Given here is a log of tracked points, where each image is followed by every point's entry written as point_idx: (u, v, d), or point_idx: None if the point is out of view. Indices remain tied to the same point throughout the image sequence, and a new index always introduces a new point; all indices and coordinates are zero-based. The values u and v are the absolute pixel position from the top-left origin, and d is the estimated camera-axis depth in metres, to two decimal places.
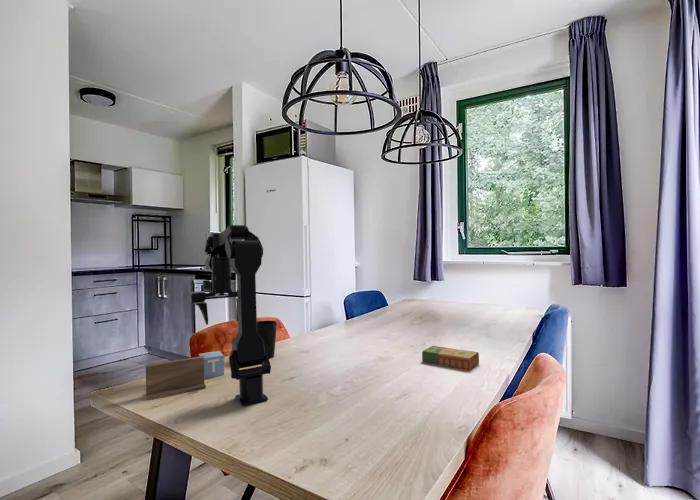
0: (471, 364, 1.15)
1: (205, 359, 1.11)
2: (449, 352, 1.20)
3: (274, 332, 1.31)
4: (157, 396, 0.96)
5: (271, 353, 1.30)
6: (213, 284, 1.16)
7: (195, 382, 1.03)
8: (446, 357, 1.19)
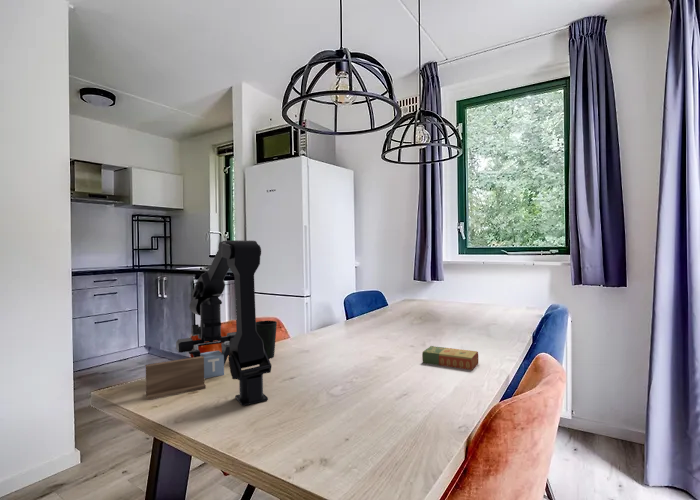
0: (472, 363, 1.15)
1: (205, 359, 1.11)
2: (450, 352, 1.20)
3: (274, 332, 1.31)
4: (157, 396, 0.96)
5: (271, 353, 1.30)
6: (201, 330, 1.12)
7: (195, 382, 1.03)
8: (447, 357, 1.19)
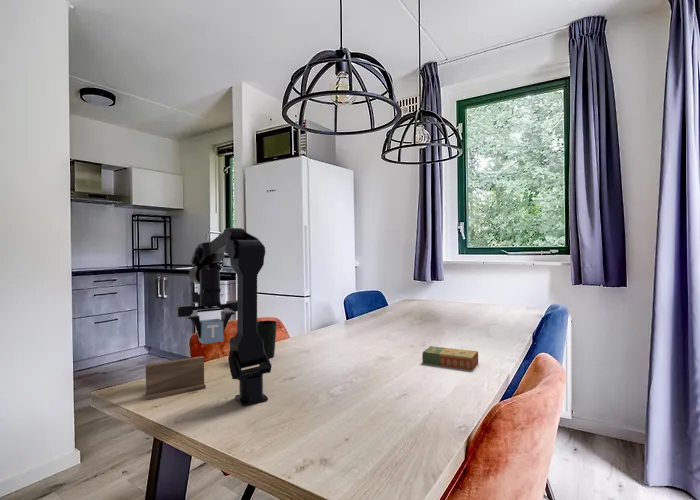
0: (473, 363, 1.15)
1: (204, 324, 1.11)
2: (450, 352, 1.20)
3: (274, 332, 1.31)
4: (157, 396, 0.96)
5: (271, 353, 1.30)
6: (201, 296, 1.12)
7: (195, 382, 1.03)
8: (447, 357, 1.18)
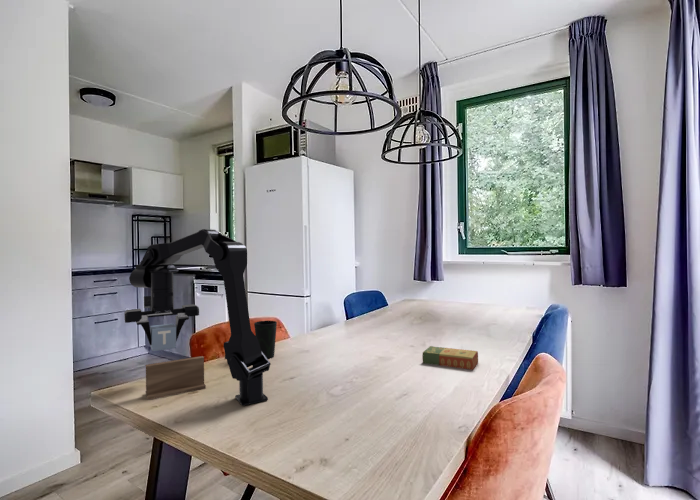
0: (473, 363, 1.15)
1: (155, 330, 1.04)
2: (450, 352, 1.20)
3: (274, 332, 1.31)
4: (157, 396, 0.96)
5: (271, 353, 1.30)
6: (151, 300, 1.06)
7: (195, 382, 1.03)
8: (447, 357, 1.18)
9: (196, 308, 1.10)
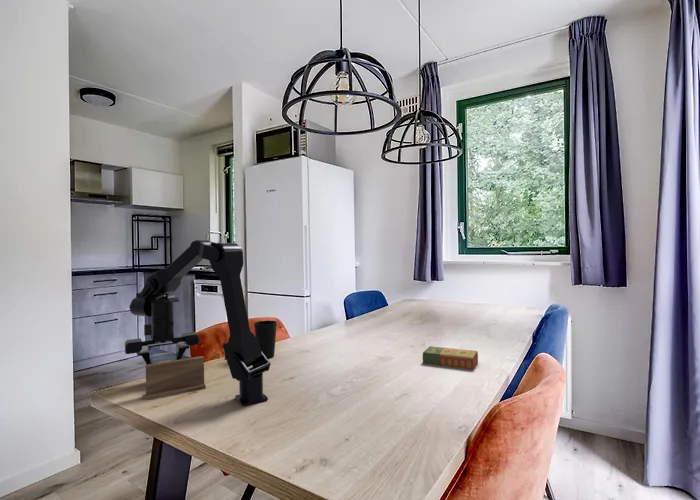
0: (474, 363, 1.16)
1: (155, 360, 1.04)
2: (450, 352, 1.20)
3: (274, 332, 1.31)
4: (157, 396, 0.96)
5: (271, 353, 1.30)
6: (152, 330, 1.06)
7: (195, 382, 1.03)
8: (448, 357, 1.18)
9: (196, 337, 1.10)
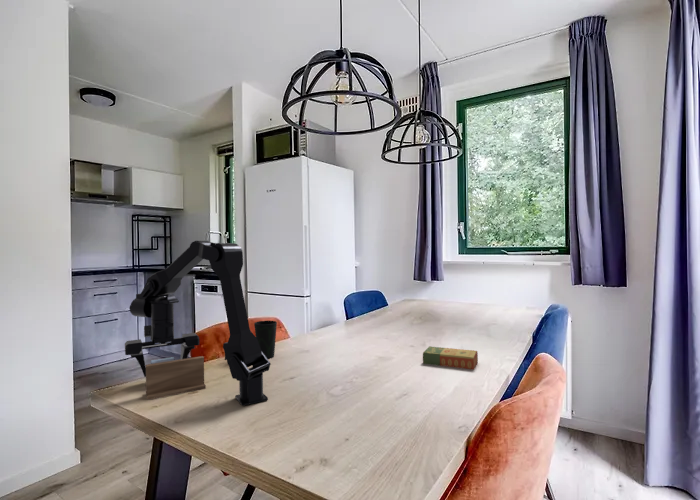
0: (474, 363, 1.16)
1: None
2: (450, 352, 1.20)
3: (274, 332, 1.31)
4: (157, 396, 0.96)
5: (271, 353, 1.30)
6: (152, 331, 1.06)
7: (195, 382, 1.03)
8: (448, 357, 1.18)
9: (196, 338, 1.10)
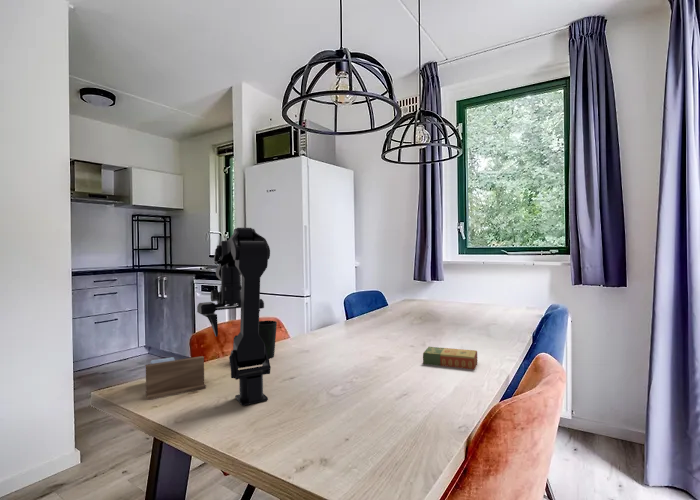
0: (474, 363, 1.16)
1: None
2: (450, 352, 1.20)
3: (274, 332, 1.31)
4: (157, 396, 0.96)
5: (271, 353, 1.30)
6: (222, 294, 1.12)
7: (195, 382, 1.03)
8: (449, 357, 1.18)
9: (262, 301, 1.17)
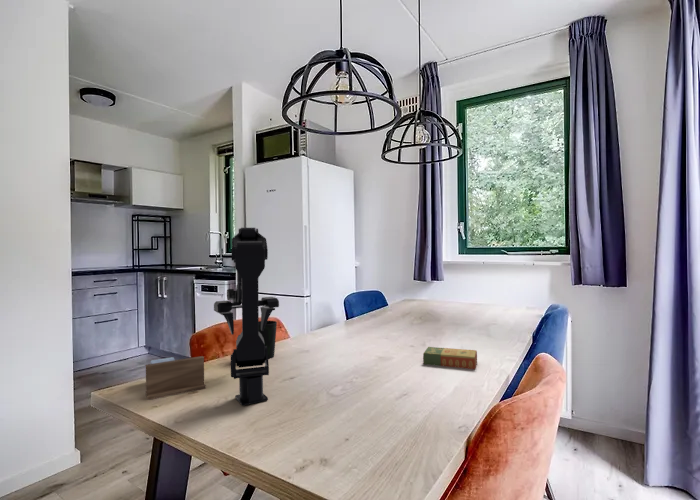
0: (475, 362, 1.16)
1: None
2: (451, 352, 1.20)
3: (274, 332, 1.31)
4: (157, 396, 0.96)
5: (271, 353, 1.30)
6: (238, 293, 1.14)
7: (195, 382, 1.03)
8: (449, 357, 1.18)
9: (276, 300, 1.18)
